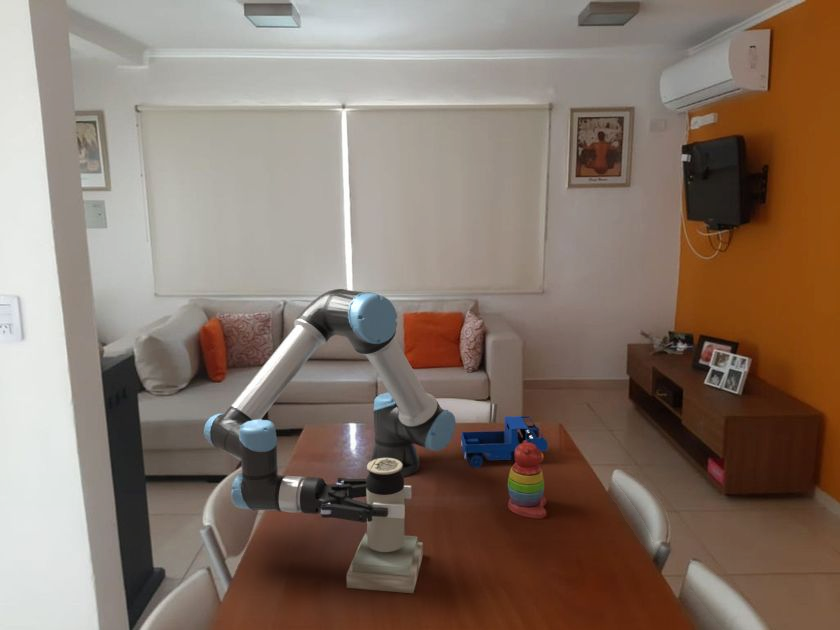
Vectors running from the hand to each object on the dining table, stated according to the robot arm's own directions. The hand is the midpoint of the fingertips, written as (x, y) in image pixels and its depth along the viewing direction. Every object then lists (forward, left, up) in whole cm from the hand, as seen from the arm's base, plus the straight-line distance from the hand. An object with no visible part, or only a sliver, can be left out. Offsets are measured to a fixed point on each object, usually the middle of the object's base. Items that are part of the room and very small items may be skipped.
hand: (407, 501), depth 127 cm
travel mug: (0, -5, -10) cm, 11 cm away
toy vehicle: (-63, +20, -17) cm, 68 cm away
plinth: (0, -5, -16) cm, 17 cm away
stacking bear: (-32, +26, -17) cm, 45 cm away
